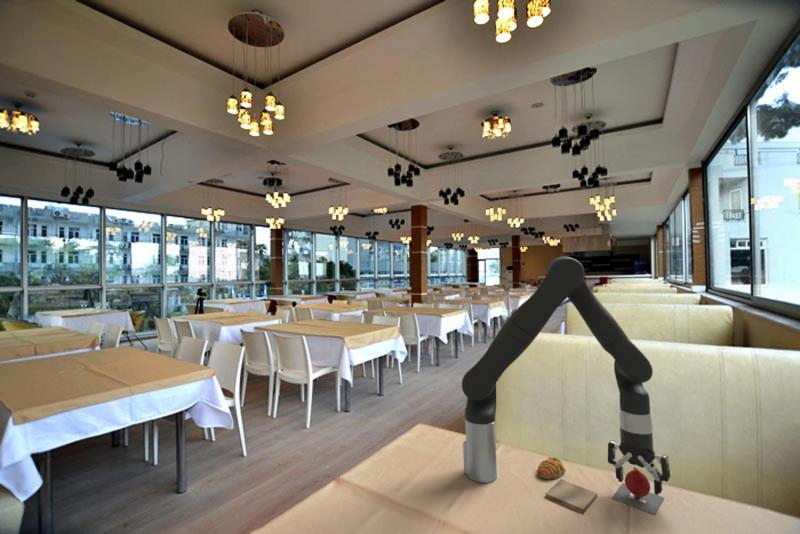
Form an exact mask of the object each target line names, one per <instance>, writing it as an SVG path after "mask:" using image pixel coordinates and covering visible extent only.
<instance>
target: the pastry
mask: <svg viewBox="0 0 800 534" xmlns="http://www.w3.org/2000/svg"><path fill="white" fill-rule="evenodd" d="M536 472H537V476H538V477H540V478H541V479H542V478H543V479H546V480H552V479H553V480H554V479H558V478H559V477H561V476H563V475H564V474H565V472H566V468H565V466H564V464H563V462H562V461H561V460H560V459H559V458H557V457H551V456H549V457H548V458H546V459H544V460H542V461H541V462H540V463H539V465H538V467H537V470H536Z"/></svg>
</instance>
